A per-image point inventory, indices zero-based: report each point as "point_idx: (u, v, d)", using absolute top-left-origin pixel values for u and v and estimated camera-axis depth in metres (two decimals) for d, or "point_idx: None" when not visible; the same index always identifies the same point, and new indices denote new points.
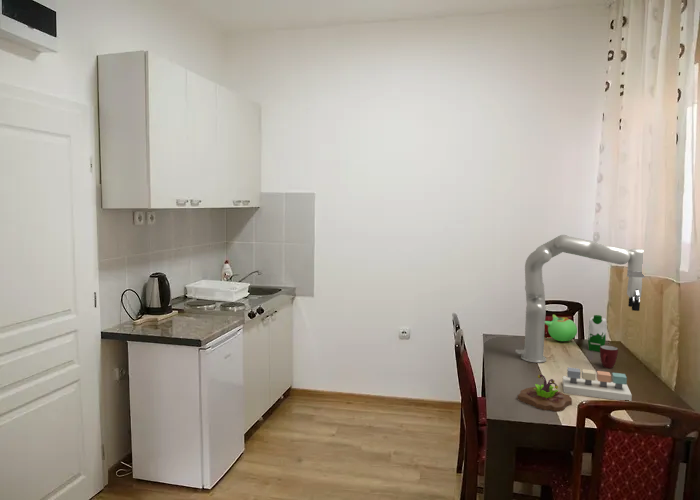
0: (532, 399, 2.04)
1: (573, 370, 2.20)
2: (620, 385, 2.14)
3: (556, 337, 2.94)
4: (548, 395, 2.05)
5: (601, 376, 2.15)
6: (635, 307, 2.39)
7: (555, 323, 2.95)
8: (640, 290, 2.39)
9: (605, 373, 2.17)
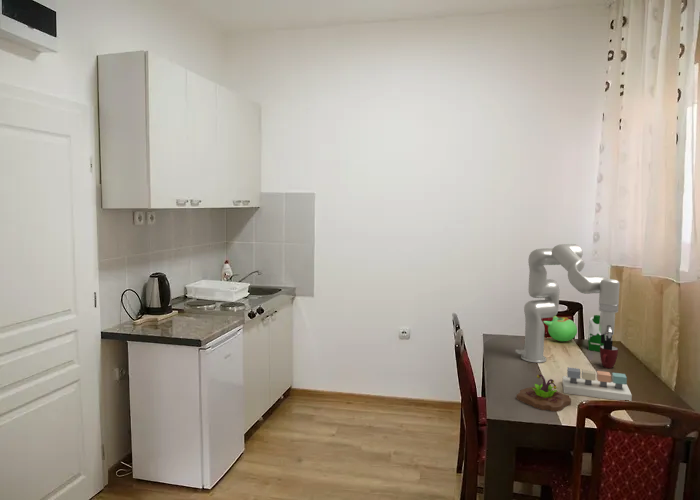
0: (530, 399, 2.04)
1: (573, 370, 2.20)
2: (620, 385, 2.14)
3: (556, 337, 2.94)
4: (547, 395, 2.05)
5: (601, 376, 2.15)
6: (607, 346, 2.11)
7: (555, 323, 2.95)
8: (613, 326, 2.10)
9: (605, 373, 2.17)
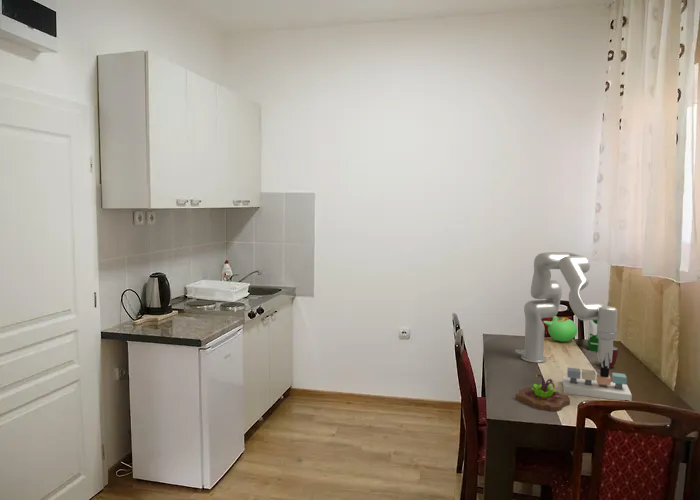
0: (529, 398, 2.04)
1: (573, 370, 2.20)
2: (620, 385, 2.14)
3: (556, 337, 2.94)
4: (546, 395, 2.05)
5: (601, 379, 2.15)
6: (604, 373, 2.16)
7: (555, 323, 2.95)
8: (611, 354, 2.11)
9: None
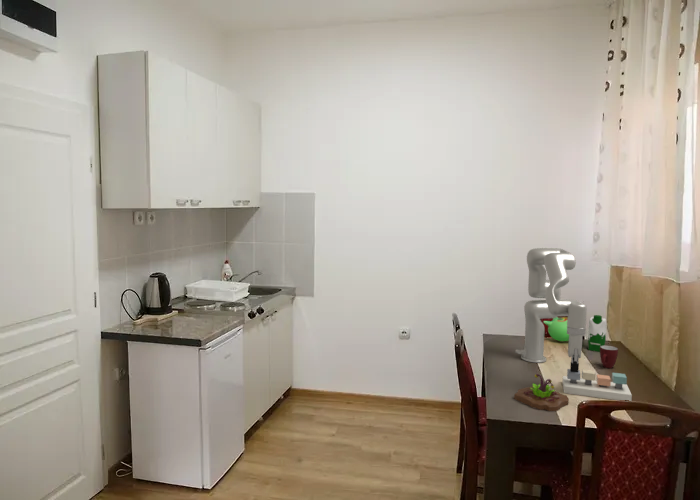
0: (528, 398, 2.05)
1: (573, 372, 2.20)
2: (620, 385, 2.14)
3: (556, 337, 2.94)
4: (544, 395, 2.05)
5: (601, 380, 2.15)
6: (574, 368, 2.20)
7: (555, 323, 2.95)
8: (580, 350, 2.15)
9: (604, 377, 2.17)
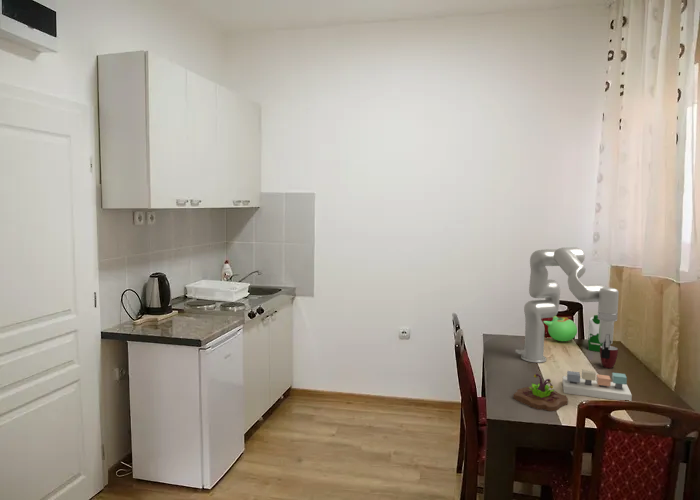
0: (527, 398, 2.05)
1: (573, 374, 2.20)
2: (620, 385, 2.14)
3: (556, 337, 2.94)
4: (543, 395, 2.05)
5: (601, 380, 2.15)
6: (605, 354, 2.15)
7: (555, 323, 2.95)
8: (611, 335, 2.10)
9: (604, 377, 2.17)
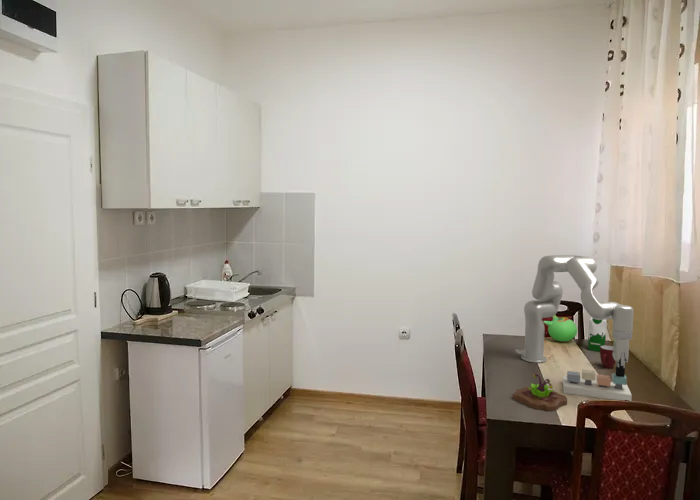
0: (526, 398, 2.05)
1: (573, 374, 2.20)
2: (620, 385, 2.14)
3: (556, 337, 2.94)
4: (542, 394, 2.05)
5: (601, 380, 2.15)
6: (620, 373, 2.13)
7: (555, 323, 2.95)
8: (627, 354, 2.09)
9: (604, 377, 2.17)
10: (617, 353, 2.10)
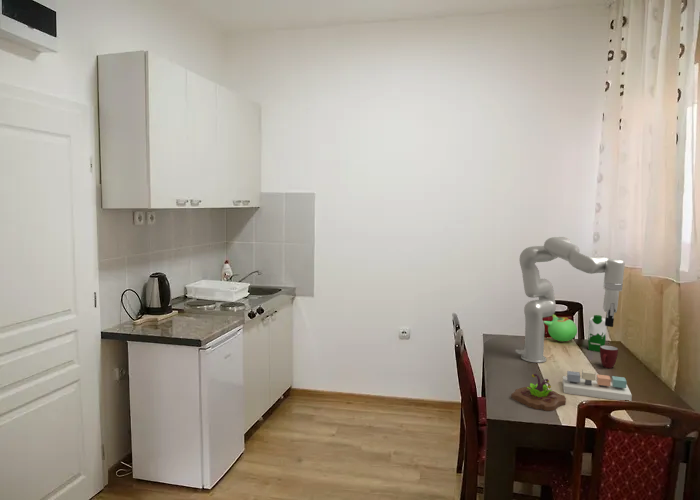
0: (524, 398, 2.05)
1: (573, 374, 2.20)
2: None
3: (556, 337, 2.94)
4: (541, 394, 2.06)
5: (601, 380, 2.15)
6: (609, 323, 2.25)
7: (555, 323, 2.95)
8: (616, 304, 2.20)
9: (604, 377, 2.17)
10: (607, 304, 2.21)
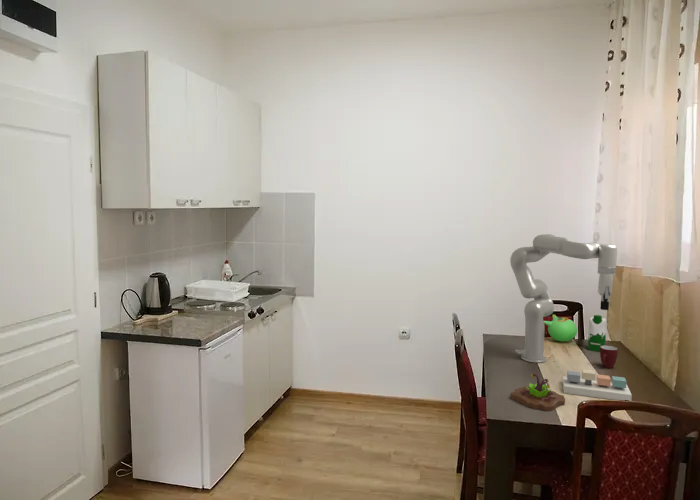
0: (523, 398, 2.05)
1: (573, 374, 2.20)
2: None
3: (556, 337, 2.94)
4: (540, 394, 2.06)
5: (601, 380, 2.15)
6: (604, 306, 2.32)
7: (555, 323, 2.95)
8: (610, 287, 2.27)
9: (604, 377, 2.17)
10: (601, 287, 2.28)
